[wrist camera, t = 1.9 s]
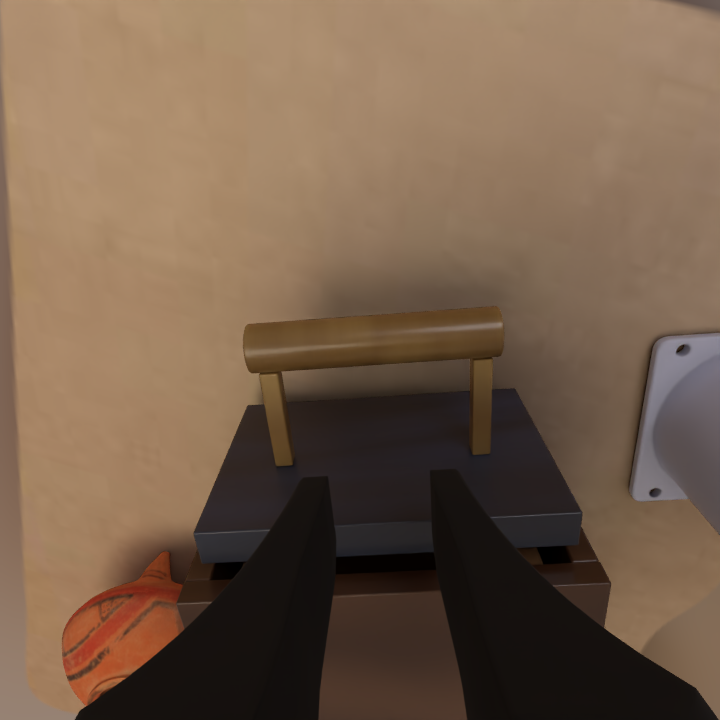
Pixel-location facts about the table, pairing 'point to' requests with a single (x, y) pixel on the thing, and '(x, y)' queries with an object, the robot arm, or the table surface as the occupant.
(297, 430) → the drawer
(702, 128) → the table surface
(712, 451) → the robot arm
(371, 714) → the cabinet
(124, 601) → the pot
